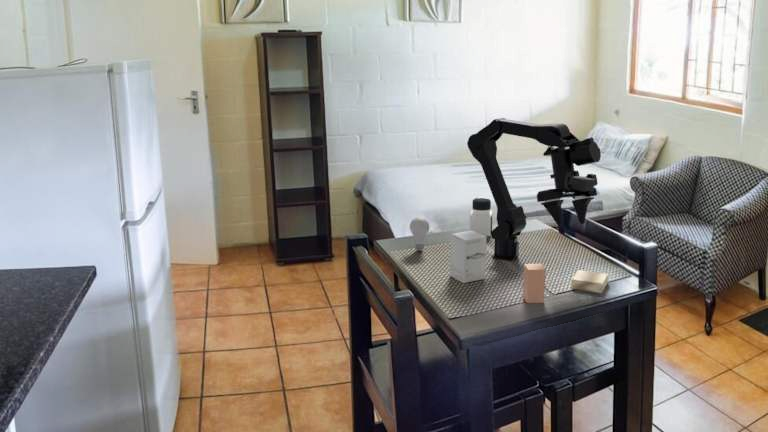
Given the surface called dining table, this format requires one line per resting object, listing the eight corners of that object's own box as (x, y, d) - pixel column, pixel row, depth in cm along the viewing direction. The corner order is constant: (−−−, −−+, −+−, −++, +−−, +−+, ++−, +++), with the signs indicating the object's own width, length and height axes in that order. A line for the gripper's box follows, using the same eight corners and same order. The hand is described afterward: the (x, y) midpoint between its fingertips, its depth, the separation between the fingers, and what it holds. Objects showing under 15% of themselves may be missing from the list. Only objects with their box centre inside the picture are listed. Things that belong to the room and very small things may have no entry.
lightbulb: (432, 249, 223) (433, 216, 220) (423, 255, 218) (423, 220, 215) (416, 246, 226) (415, 213, 223) (406, 252, 221) (406, 218, 218)
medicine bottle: (490, 236, 235) (491, 201, 232) (469, 235, 236) (470, 201, 233) (492, 230, 242) (493, 196, 239) (471, 229, 243) (471, 195, 240)
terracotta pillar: (522, 296, 184) (524, 264, 182) (539, 296, 184) (541, 263, 182) (527, 303, 180) (528, 269, 178) (544, 302, 180) (545, 269, 178)
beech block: (571, 289, 189) (571, 279, 189) (577, 280, 196) (578, 269, 196) (601, 294, 186) (602, 283, 185) (607, 284, 193) (608, 274, 192)
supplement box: (464, 284, 194) (464, 240, 190) (449, 275, 200) (449, 233, 196) (486, 279, 197) (487, 236, 193) (471, 271, 203) (471, 229, 200)
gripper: (563, 164, 184) (572, 224, 183) (608, 163, 194) (617, 219, 193) (531, 172, 193) (539, 228, 192) (576, 170, 203) (584, 223, 202)
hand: (571, 225), depth 194 cm, fingers open, 9 cm apart
